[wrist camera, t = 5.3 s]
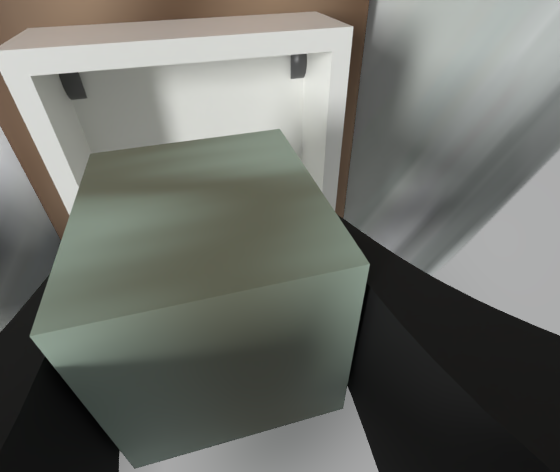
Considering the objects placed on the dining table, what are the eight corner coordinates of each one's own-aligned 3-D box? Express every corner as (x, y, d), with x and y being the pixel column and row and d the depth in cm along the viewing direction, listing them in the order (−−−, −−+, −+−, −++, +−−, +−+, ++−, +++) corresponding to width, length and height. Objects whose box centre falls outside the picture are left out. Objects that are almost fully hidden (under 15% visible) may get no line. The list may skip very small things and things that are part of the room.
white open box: (123, 255, 17) (102, 434, 11) (31, 25, 11) (-137, 129, 5) (304, 223, 19) (377, 362, 13) (311, 9, 13) (461, 70, 6)
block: (142, 287, 11) (134, 468, 7) (90, 154, 8) (29, 336, 4) (283, 259, 12) (342, 408, 8) (280, 128, 9) (369, 264, 5)
